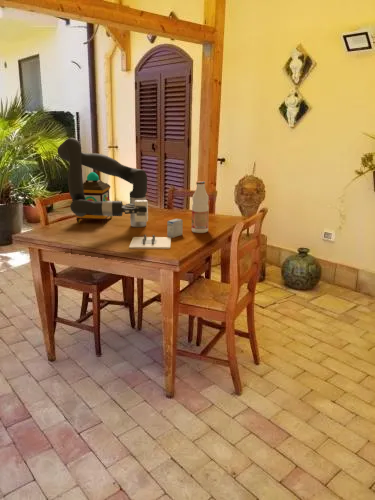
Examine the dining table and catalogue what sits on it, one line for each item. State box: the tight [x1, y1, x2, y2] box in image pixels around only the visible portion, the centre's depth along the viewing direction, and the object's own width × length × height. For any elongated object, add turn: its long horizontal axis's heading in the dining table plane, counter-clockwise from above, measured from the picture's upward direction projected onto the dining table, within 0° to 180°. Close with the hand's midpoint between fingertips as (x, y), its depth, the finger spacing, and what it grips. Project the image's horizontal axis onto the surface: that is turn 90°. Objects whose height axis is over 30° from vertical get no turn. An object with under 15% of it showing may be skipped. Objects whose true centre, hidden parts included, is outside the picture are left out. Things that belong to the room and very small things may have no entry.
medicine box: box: [166, 218, 184, 239], centre depth 222 cm, size 8×4×9 cm, turn 141°
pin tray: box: [128, 234, 172, 250], centre depth 208 cm, size 18×20×3 cm
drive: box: [135, 199, 149, 223], centre depth 203 cm, size 4×6×10 cm
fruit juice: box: [191, 180, 210, 234], centre depth 229 cm, size 9×9×28 cm
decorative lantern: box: [76, 171, 113, 225], centre depth 250 cm, size 20×20×30 cm
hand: (146, 208), depth 203 cm, fingers closed on drive, 4 cm apart
